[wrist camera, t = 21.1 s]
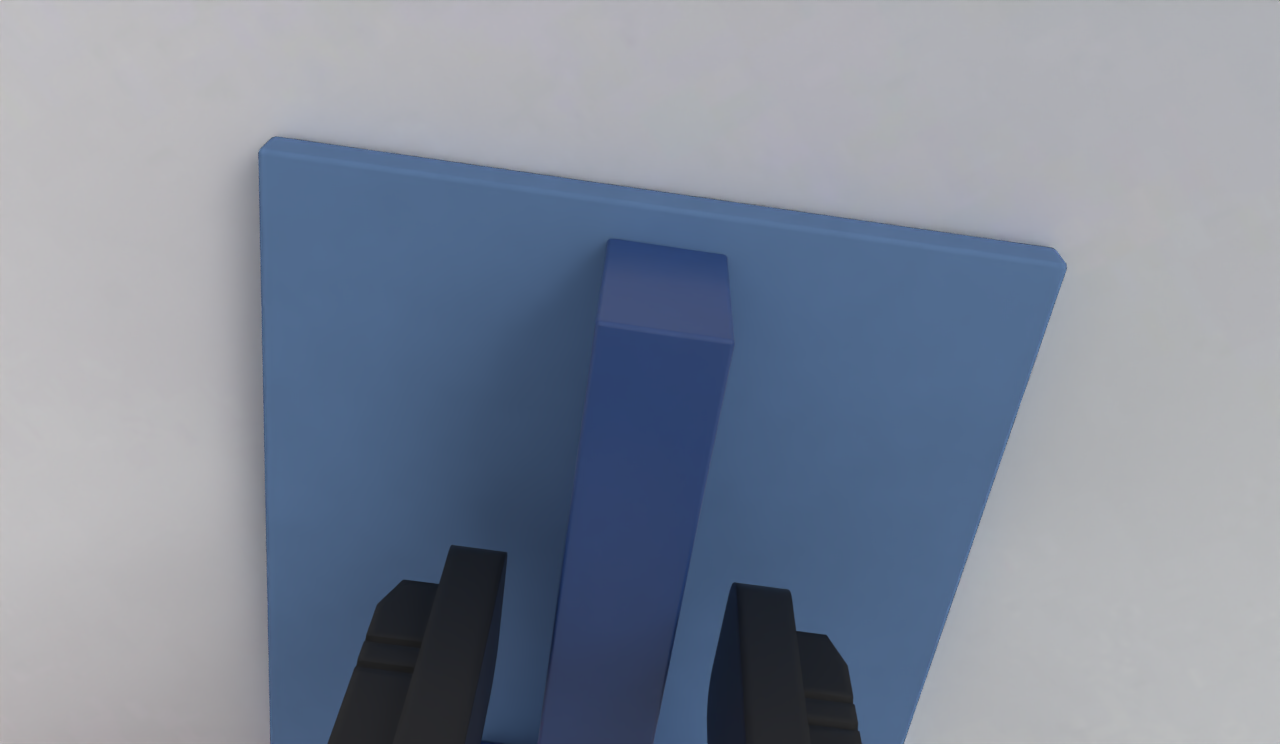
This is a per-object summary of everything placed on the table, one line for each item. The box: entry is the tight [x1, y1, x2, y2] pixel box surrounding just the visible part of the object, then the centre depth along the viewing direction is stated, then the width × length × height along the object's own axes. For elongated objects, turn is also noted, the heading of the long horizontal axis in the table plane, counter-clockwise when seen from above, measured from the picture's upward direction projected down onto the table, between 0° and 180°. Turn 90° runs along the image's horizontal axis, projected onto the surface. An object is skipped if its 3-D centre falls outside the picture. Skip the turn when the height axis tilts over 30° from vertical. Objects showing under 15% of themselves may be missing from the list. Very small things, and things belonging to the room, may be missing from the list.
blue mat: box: [258, 137, 1067, 744], centre depth 18 cm, size 14×10×1 cm
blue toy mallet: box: [481, 239, 735, 744], centre depth 16 cm, size 13×4×2 cm, turn 172°
